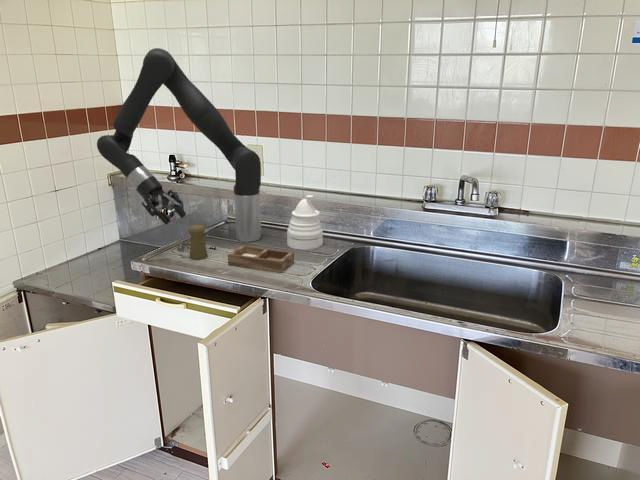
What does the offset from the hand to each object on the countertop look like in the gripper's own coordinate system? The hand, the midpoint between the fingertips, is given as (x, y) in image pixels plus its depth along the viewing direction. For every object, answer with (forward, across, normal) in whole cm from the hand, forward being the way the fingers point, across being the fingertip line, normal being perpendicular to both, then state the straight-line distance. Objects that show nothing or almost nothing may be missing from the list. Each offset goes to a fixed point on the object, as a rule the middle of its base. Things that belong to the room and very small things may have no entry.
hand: (176, 219), depth 170 cm
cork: (+14, 0, +3) cm, 15 cm away
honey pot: (+34, +26, -16) cm, 46 cm away
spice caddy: (+30, +2, -13) cm, 33 cm away
